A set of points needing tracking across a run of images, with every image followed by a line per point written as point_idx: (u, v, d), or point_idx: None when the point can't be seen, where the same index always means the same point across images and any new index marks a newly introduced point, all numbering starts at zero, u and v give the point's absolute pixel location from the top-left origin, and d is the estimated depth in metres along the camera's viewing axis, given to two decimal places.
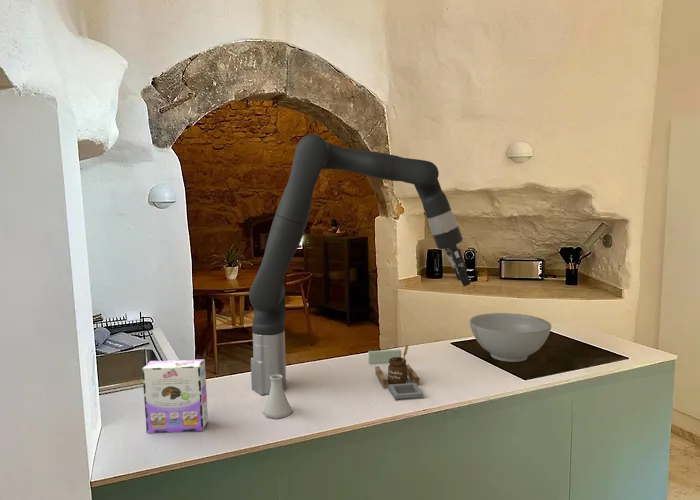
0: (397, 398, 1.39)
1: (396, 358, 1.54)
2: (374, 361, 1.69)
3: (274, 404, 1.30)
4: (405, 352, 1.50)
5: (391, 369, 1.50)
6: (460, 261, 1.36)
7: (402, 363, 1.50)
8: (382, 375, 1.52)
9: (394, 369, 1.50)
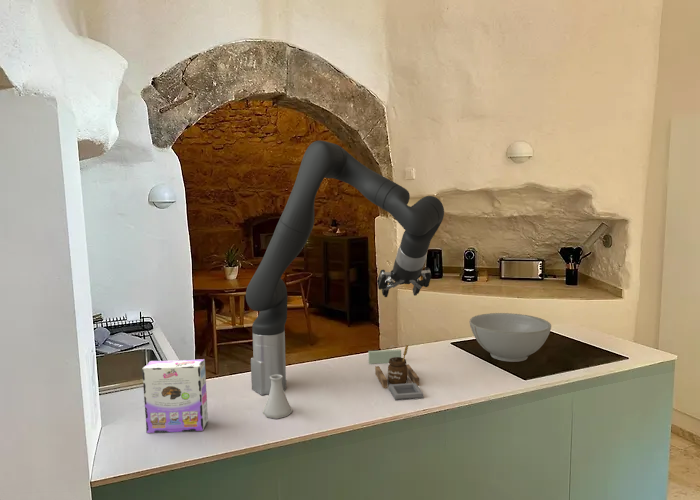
0: (397, 398, 1.39)
1: (396, 358, 1.54)
2: (374, 361, 1.69)
3: (274, 404, 1.30)
4: (405, 352, 1.50)
5: (391, 369, 1.50)
6: (379, 280, 1.37)
7: (402, 363, 1.50)
8: (382, 375, 1.52)
9: (394, 369, 1.50)
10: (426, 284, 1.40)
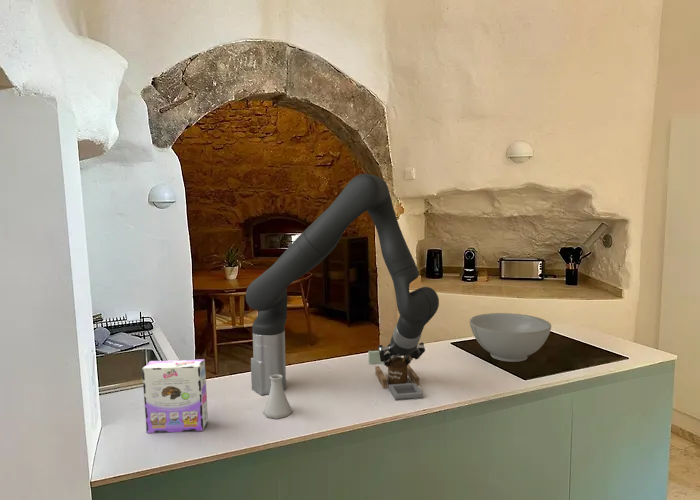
0: (397, 398, 1.39)
1: (396, 358, 1.54)
2: (374, 361, 1.69)
3: (274, 404, 1.30)
4: None
5: (391, 369, 1.50)
6: None
7: (402, 363, 1.50)
8: (382, 375, 1.52)
9: (394, 368, 1.50)
10: (417, 357, 1.50)
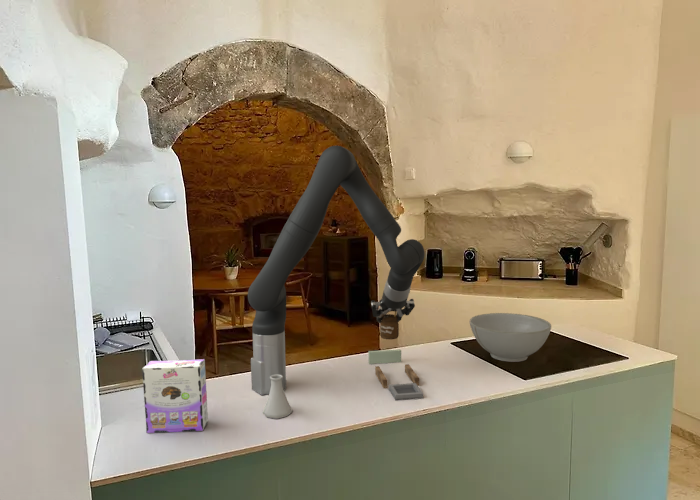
0: (397, 398, 1.39)
1: (388, 315, 1.64)
2: (374, 361, 1.69)
3: (274, 404, 1.30)
4: None
5: (383, 324, 1.60)
6: None
7: (393, 318, 1.60)
8: (382, 375, 1.52)
9: (386, 324, 1.60)
10: (408, 313, 1.59)
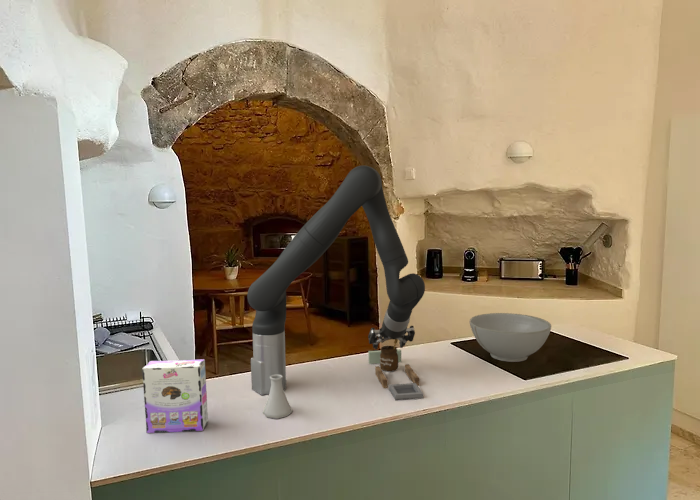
0: (397, 398, 1.39)
1: (388, 346, 1.66)
2: (374, 361, 1.69)
3: (274, 404, 1.30)
4: (396, 341, 1.62)
5: (383, 357, 1.62)
6: (370, 336, 1.58)
7: (393, 351, 1.62)
8: (382, 375, 1.52)
9: (385, 356, 1.62)
10: (411, 339, 1.61)
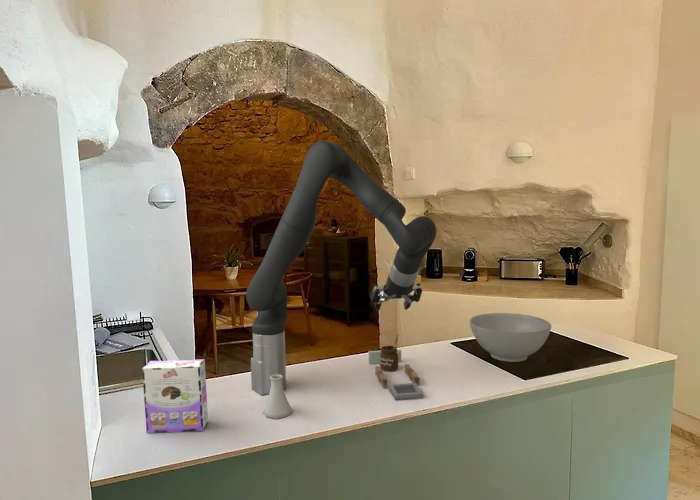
0: (397, 398, 1.39)
1: (388, 346, 1.66)
2: (374, 361, 1.69)
3: (274, 404, 1.30)
4: (396, 341, 1.62)
5: (383, 357, 1.62)
6: (372, 294, 1.44)
7: (393, 351, 1.62)
8: (382, 375, 1.52)
9: (385, 356, 1.62)
10: (417, 299, 1.47)
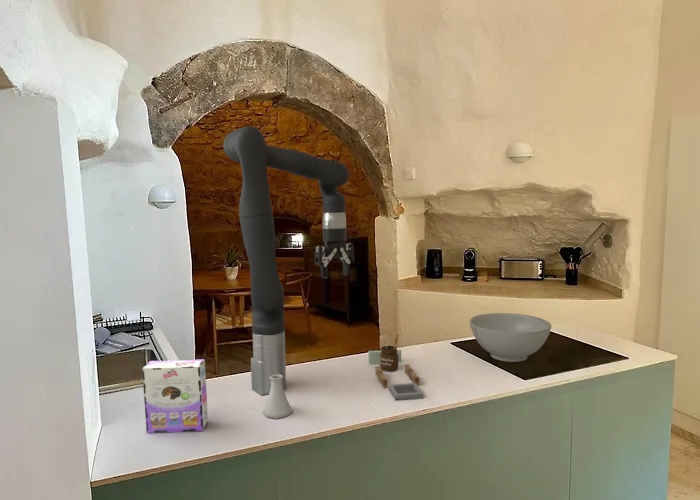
0: (397, 398, 1.39)
1: (388, 346, 1.66)
2: (374, 361, 1.69)
3: (274, 404, 1.30)
4: (396, 341, 1.62)
5: (383, 357, 1.62)
6: (317, 255, 1.58)
7: (393, 351, 1.62)
8: (382, 375, 1.52)
9: (385, 356, 1.62)
10: (352, 257, 1.66)
